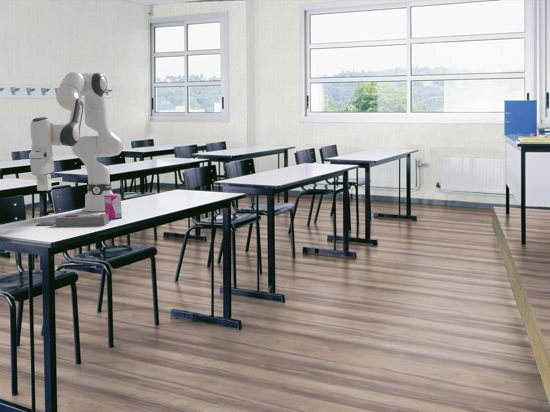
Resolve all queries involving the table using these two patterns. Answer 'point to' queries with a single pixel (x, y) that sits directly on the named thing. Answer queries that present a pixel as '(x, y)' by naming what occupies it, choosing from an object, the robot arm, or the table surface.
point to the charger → (44, 183)
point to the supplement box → (113, 206)
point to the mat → (46, 224)
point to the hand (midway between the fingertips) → (44, 183)
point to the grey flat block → (82, 220)
